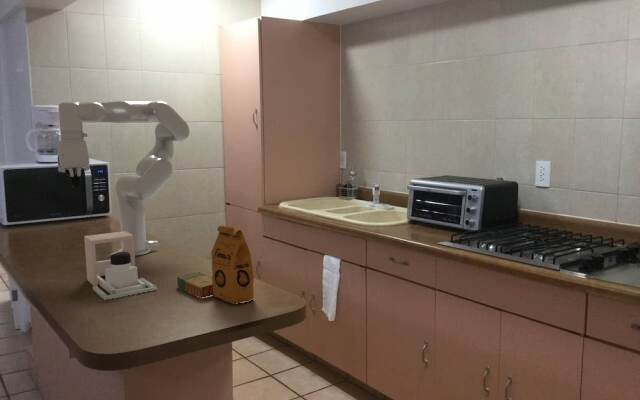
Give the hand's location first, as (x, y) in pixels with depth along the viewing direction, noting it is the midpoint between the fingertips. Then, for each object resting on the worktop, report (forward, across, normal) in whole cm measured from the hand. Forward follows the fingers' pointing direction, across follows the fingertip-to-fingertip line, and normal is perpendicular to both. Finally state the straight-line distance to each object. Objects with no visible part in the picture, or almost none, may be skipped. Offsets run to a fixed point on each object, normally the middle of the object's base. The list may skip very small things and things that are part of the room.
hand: (75, 187), depth 207 cm
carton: (+30, -22, +58) cm, 69 cm away
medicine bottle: (+30, -3, +40) cm, 50 cm away
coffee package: (+29, -26, +72) cm, 82 cm away
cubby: (+29, -3, +28) cm, 41 cm away
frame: (+29, -3, +43) cm, 52 cm away
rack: (+29, -3, +34) cm, 45 cm away
